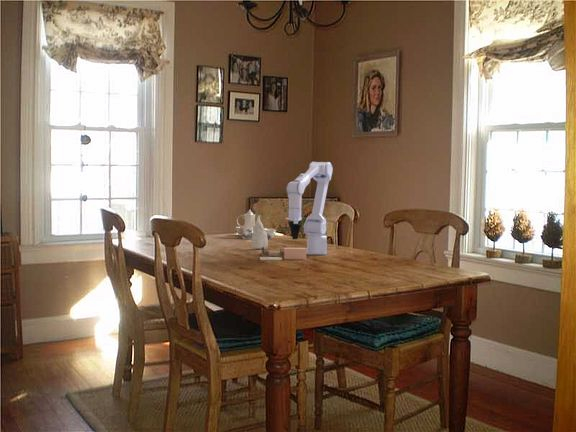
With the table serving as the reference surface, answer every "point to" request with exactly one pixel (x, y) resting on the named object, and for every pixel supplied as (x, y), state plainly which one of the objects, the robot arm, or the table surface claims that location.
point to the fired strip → (270, 258)
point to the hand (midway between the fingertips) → (294, 238)
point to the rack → (266, 253)
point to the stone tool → (259, 236)
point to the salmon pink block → (295, 253)
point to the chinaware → (251, 227)
